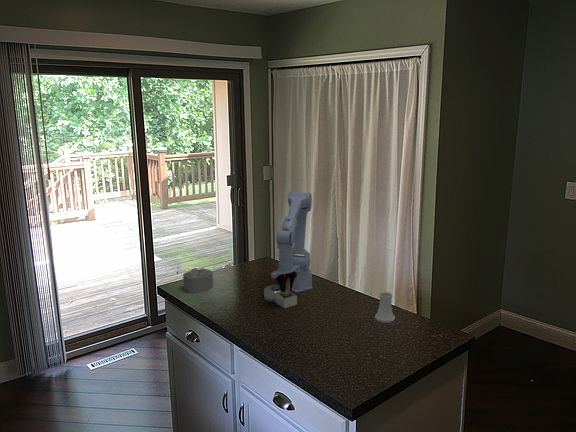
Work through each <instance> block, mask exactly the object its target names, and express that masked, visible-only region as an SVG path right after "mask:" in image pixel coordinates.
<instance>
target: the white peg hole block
mask: <svg viewBox="0 0 576 432" xmlns="http://www.w3.org/2000/svg"><path fill="white" fill-rule="evenodd" d="M263 296H264V298H263V299H264V300H265V301H266V302H268V303H275V304H276V305H278V306H280V307H281V308H283V309H288V308H289V307H293V306H297V305H298V295H297V294H295V293H294V292H291V291H290V296H289V297H286V298H285V297H283V296H282V291H281V290H280V287H279V284H275V285H274V284H272V285H268V286H266V287H264V289H263Z"/></svg>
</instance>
